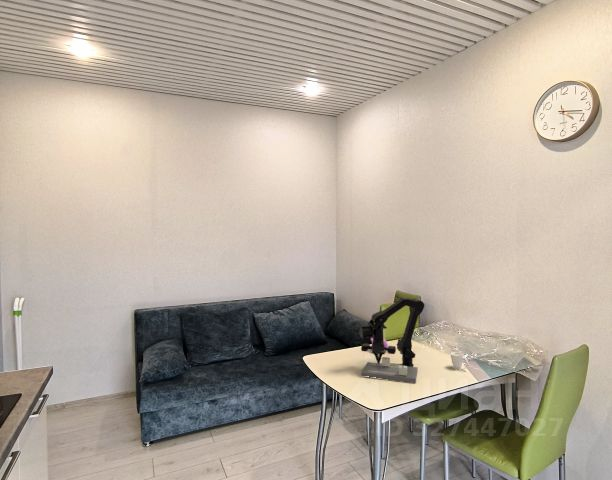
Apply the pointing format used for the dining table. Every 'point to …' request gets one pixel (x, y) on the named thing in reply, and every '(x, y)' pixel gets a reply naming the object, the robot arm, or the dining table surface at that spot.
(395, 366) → the console
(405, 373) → the sage fader
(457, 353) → the cup
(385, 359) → the block
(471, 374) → the dining table surface
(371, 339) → the teapot
